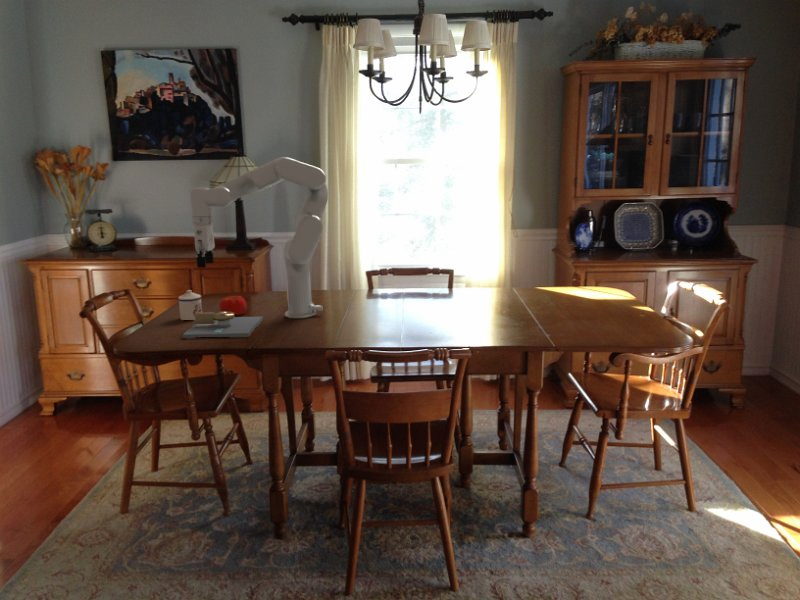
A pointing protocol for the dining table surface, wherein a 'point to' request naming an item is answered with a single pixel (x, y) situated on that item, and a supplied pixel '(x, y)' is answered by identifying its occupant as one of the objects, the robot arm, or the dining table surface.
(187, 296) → the teacup with lid
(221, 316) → the lock handle
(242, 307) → the tomato
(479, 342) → the dining table surface
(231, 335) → the base
